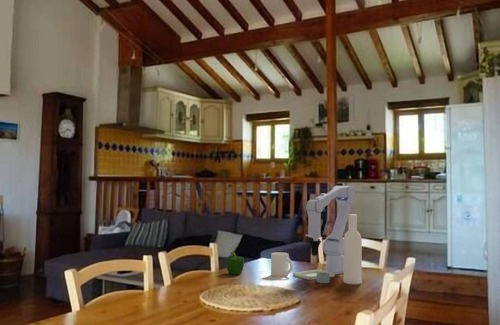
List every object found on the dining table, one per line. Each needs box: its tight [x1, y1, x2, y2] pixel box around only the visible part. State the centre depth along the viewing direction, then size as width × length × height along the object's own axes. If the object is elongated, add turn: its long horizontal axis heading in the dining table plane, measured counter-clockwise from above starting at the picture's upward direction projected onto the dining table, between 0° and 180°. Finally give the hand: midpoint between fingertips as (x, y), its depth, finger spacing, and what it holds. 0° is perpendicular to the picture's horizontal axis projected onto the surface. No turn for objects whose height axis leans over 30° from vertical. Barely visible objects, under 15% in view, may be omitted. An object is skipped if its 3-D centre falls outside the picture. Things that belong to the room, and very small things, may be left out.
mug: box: [270, 251, 294, 278], centre depth 213 cm, size 12×8×10 cm
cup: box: [316, 272, 331, 284], centre depth 201 cm, size 6×6×4 cm
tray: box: [293, 269, 336, 281], centre depth 213 cm, size 16×11×2 cm
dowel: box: [310, 251, 318, 266], centre depth 213 cm, size 3×3×9 cm
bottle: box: [342, 213, 363, 285], centre depth 201 cm, size 8×8×30 cm
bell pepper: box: [225, 252, 245, 275], centre depth 218 cm, size 8×8×10 cm
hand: (314, 254), depth 213 cm, fingers closed on dowel, 3 cm apart
